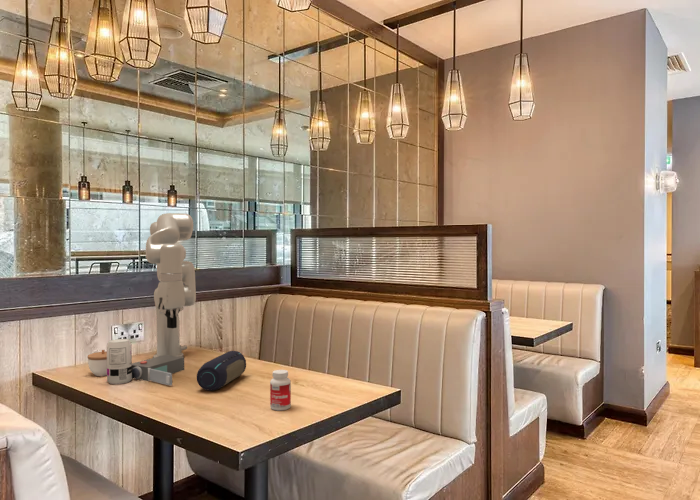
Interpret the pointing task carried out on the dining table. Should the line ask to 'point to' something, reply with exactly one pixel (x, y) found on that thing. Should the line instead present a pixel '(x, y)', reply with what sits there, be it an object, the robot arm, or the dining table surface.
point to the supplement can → (119, 361)
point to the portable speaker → (221, 370)
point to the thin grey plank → (161, 377)
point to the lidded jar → (98, 363)
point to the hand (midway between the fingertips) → (171, 327)
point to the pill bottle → (280, 390)
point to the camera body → (157, 366)
